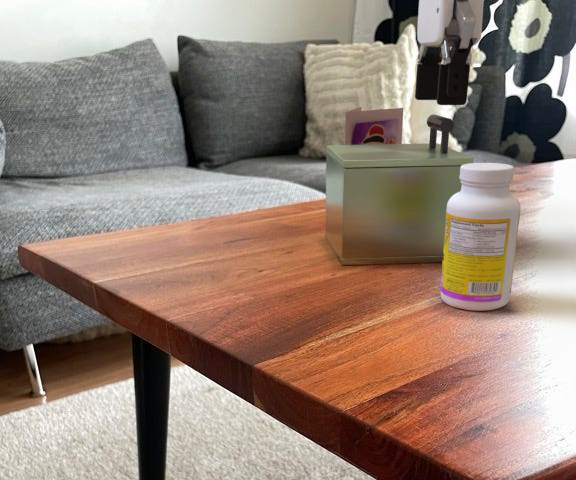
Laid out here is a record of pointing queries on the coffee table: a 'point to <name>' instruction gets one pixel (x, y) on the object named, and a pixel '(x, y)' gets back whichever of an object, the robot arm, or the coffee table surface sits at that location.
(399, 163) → the bin lid
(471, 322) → the coffee table surface
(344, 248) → the bin
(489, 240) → the supplement bottle
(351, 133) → the purple cartoon box
